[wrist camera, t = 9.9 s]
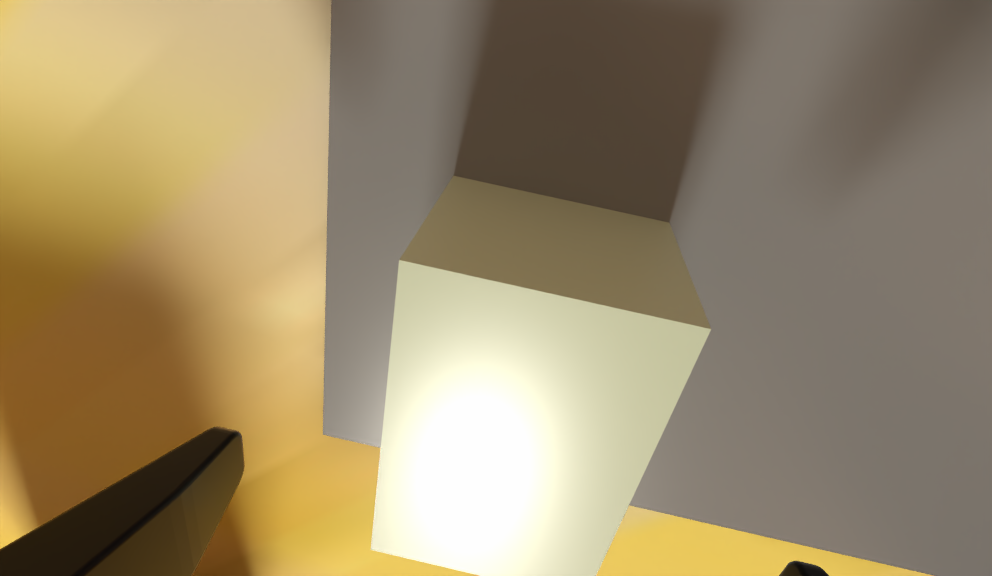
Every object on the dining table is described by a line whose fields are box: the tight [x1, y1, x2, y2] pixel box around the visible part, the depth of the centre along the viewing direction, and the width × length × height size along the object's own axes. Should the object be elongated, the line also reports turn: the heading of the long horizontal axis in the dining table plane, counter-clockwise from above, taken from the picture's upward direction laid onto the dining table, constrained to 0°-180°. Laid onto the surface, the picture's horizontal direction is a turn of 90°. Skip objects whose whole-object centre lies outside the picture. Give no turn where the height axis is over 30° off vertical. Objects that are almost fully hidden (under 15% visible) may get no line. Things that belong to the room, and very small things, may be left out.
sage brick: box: [371, 176, 711, 576], centre depth 11 cm, size 7×5×4 cm, turn 170°
